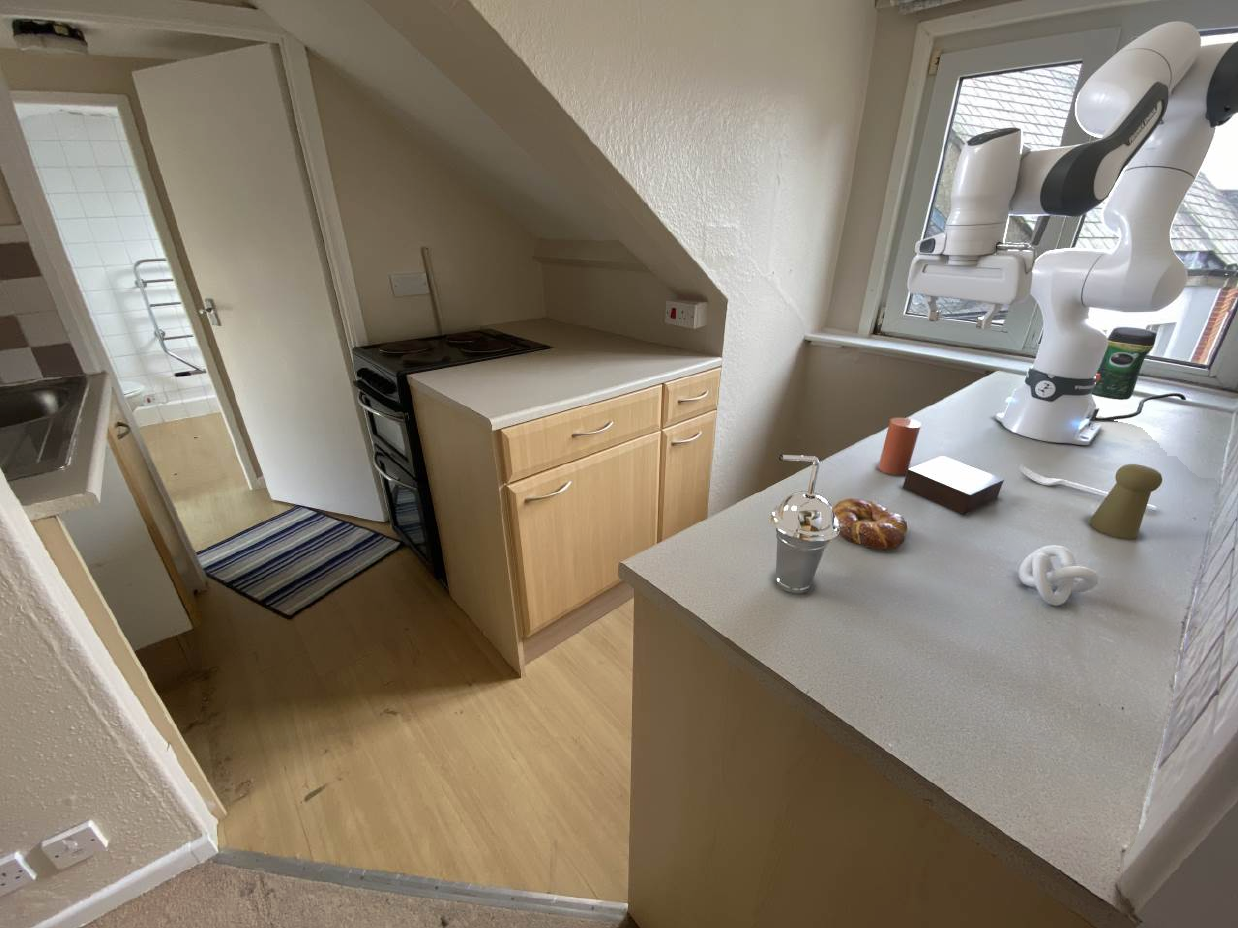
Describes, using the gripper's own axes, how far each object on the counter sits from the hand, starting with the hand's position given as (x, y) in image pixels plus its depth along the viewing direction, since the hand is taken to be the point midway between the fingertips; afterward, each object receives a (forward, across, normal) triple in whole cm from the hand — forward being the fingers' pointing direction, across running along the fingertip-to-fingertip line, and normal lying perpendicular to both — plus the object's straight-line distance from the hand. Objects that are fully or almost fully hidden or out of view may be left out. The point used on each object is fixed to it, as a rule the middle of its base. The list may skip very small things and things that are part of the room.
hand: (957, 324), depth 95 cm
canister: (+26, 0, +11) cm, 29 cm away
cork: (+30, -29, -5) cm, 42 cm away
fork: (+30, -20, -14) cm, 39 cm away
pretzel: (+25, -13, +33) cm, 44 cm away
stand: (+27, -11, +9) cm, 31 cm away
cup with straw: (+24, -19, +53) cm, 61 cm away
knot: (+27, -34, +23) cm, 49 cm away
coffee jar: (+35, +9, -83) cm, 90 cm away
